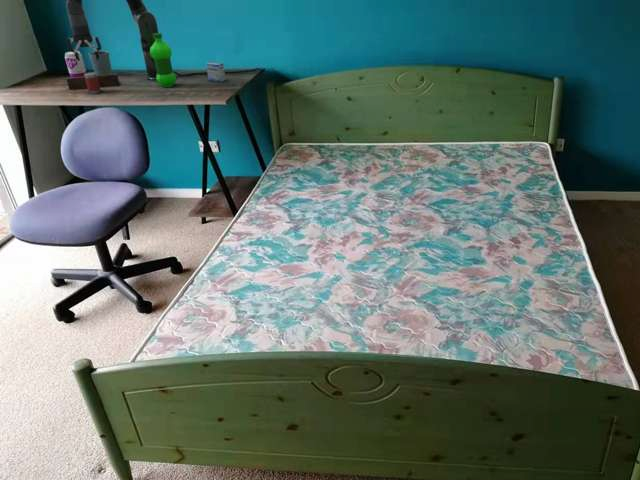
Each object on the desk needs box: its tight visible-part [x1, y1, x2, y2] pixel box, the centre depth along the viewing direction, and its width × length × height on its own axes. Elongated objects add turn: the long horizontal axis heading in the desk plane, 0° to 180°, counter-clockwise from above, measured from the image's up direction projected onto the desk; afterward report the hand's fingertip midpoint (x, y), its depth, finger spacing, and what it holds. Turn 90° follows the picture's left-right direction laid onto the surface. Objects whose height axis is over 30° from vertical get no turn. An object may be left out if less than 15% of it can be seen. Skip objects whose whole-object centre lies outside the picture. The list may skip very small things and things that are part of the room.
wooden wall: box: [65, 72, 121, 91], centre depth 306 cm, size 24×4×6 cm, turn 107°
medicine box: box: [205, 61, 226, 83], centre depth 310 cm, size 8×4×9 cm, turn 68°
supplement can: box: [64, 50, 88, 78], centre depth 311 cm, size 8×8×15 cm
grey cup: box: [88, 50, 113, 75], centre depth 324 cm, size 10×10×12 cm
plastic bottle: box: [150, 32, 177, 88], centre depth 299 cm, size 10×10×25 cm
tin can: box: [84, 72, 102, 95], centre depth 296 cm, size 6×6×9 cm
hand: (88, 60), depth 291 cm, fingers open, 8 cm apart
